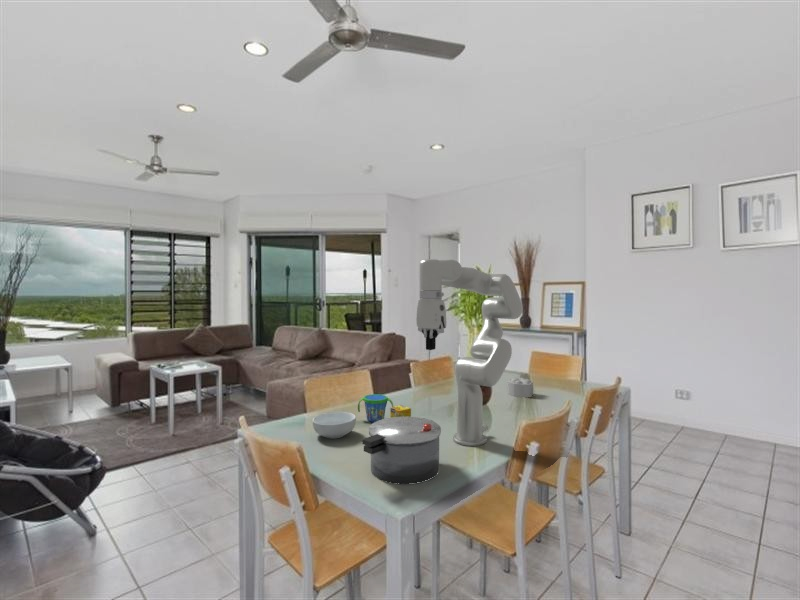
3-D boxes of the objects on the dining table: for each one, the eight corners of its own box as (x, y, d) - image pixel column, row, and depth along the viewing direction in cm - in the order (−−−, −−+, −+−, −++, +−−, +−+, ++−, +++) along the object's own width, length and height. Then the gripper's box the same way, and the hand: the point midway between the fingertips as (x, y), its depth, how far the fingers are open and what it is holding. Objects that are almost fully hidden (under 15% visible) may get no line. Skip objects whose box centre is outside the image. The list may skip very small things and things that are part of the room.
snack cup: (395, 417, 188) (395, 394, 188) (390, 424, 178) (390, 401, 177) (361, 415, 191) (361, 393, 190) (355, 422, 180) (355, 399, 180)
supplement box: (390, 434, 166) (389, 407, 165) (401, 431, 169) (401, 404, 169) (399, 438, 161) (399, 410, 161) (411, 435, 165) (411, 407, 165)
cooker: (407, 448, 152) (407, 415, 151) (456, 465, 137) (456, 429, 136) (344, 473, 131) (344, 435, 131) (394, 498, 116) (394, 455, 115)
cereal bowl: (336, 425, 177) (336, 408, 177) (364, 433, 167) (364, 416, 166) (303, 436, 164) (303, 418, 164) (332, 446, 154) (332, 427, 153)
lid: (404, 415, 151) (404, 407, 151) (456, 430, 135) (456, 421, 135) (341, 435, 131) (341, 427, 130) (394, 456, 115) (394, 446, 115)
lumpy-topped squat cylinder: (529, 398, 219) (529, 382, 219) (505, 395, 225) (505, 379, 225) (534, 394, 228) (534, 378, 228) (510, 391, 234) (510, 375, 234)
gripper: (455, 295, 140) (454, 350, 141) (421, 295, 150) (421, 346, 151) (441, 296, 135) (441, 353, 135) (407, 295, 145) (407, 348, 146)
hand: (430, 349), depth 143 cm, fingers closed
